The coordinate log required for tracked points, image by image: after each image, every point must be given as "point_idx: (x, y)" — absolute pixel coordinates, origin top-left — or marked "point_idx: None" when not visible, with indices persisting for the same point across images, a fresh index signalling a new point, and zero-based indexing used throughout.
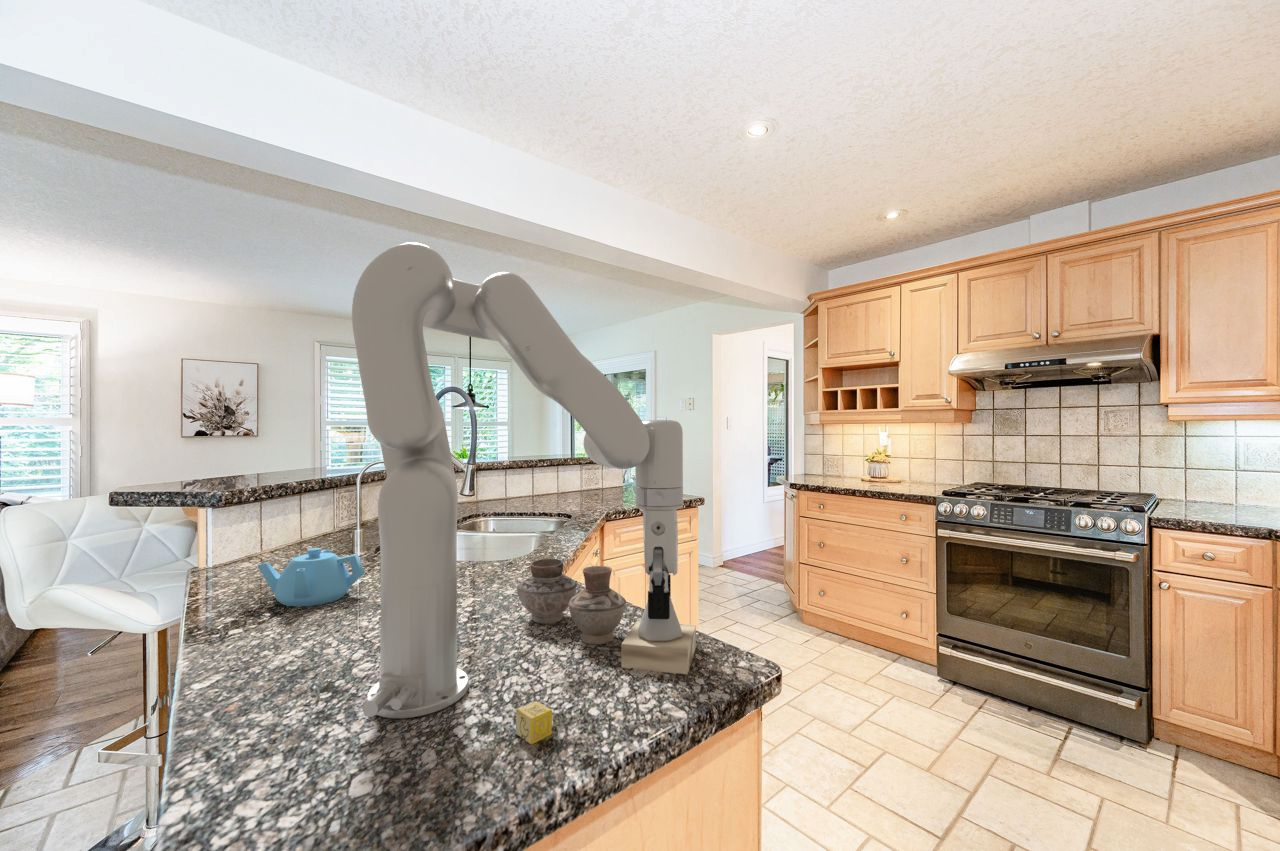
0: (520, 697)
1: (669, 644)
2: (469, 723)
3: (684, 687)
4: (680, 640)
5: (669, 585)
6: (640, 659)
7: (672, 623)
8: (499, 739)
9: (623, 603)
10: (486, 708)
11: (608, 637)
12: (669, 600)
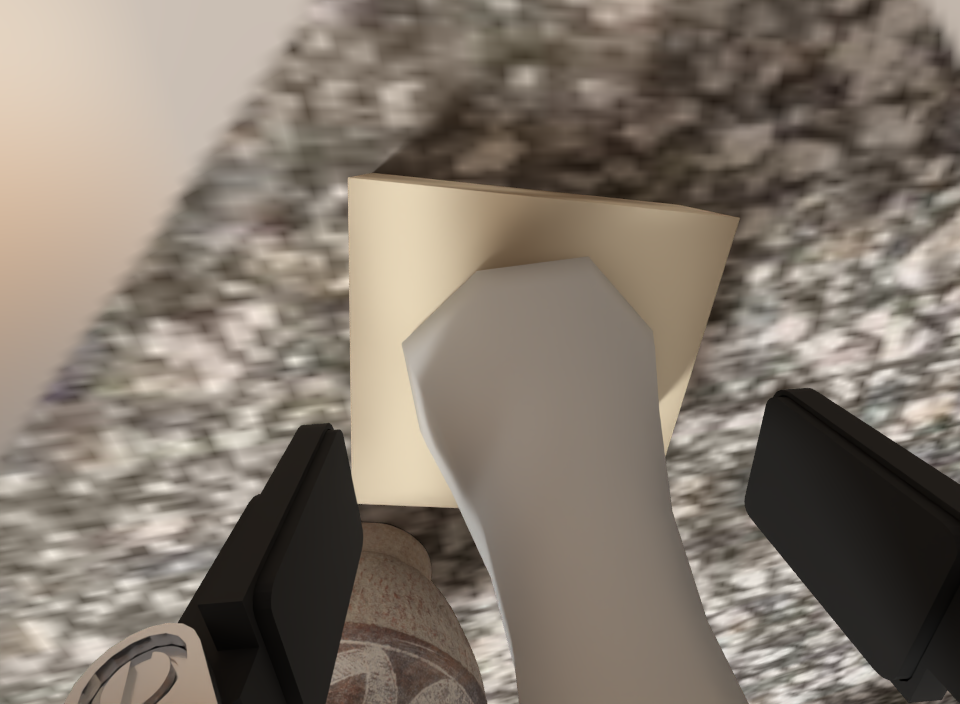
0: (777, 633)
1: (661, 319)
2: (873, 674)
3: (793, 212)
4: (607, 264)
5: (308, 508)
6: None
7: (626, 342)
8: None
9: (345, 634)
10: (817, 670)
11: (396, 545)
12: (933, 469)
